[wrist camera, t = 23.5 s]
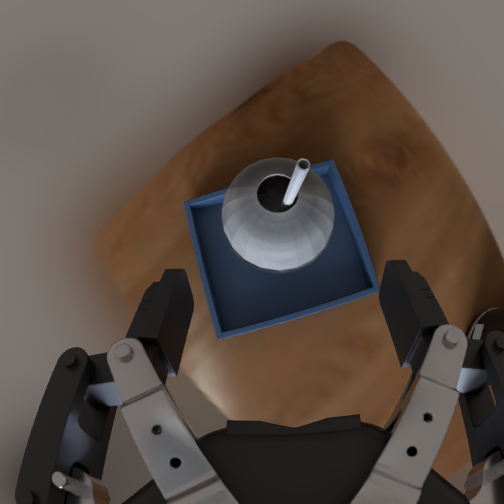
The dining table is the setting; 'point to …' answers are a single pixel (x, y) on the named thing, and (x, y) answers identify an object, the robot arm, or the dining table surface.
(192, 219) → the tray
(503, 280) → the dining table surface
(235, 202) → the beverage cup
